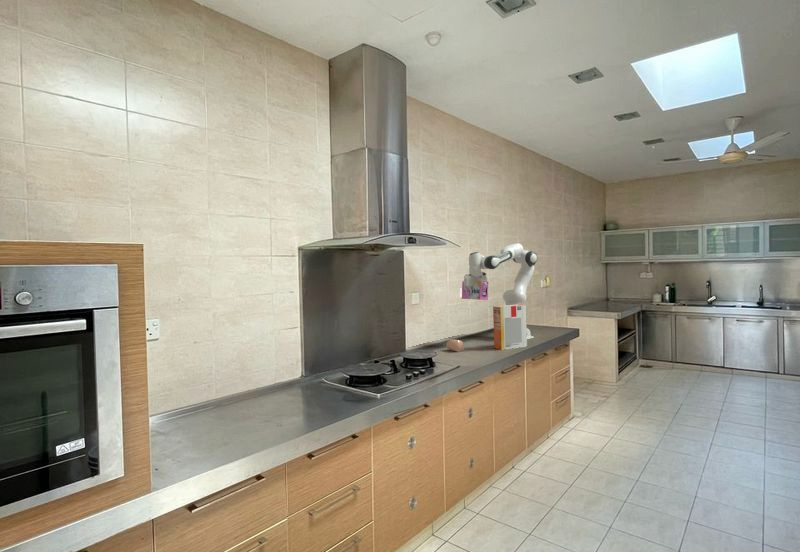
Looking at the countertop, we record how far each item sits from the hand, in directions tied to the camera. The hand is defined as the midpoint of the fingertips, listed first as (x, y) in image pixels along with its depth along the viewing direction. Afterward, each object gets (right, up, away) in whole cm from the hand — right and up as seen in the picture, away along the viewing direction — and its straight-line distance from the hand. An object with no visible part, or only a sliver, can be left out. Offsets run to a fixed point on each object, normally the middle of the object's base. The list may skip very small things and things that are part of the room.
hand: (475, 292), depth 322 cm
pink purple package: (-1, -6, 0) cm, 6 cm away
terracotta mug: (-20, -37, -16) cm, 45 cm away
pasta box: (+23, -39, -14) cm, 48 cm away
